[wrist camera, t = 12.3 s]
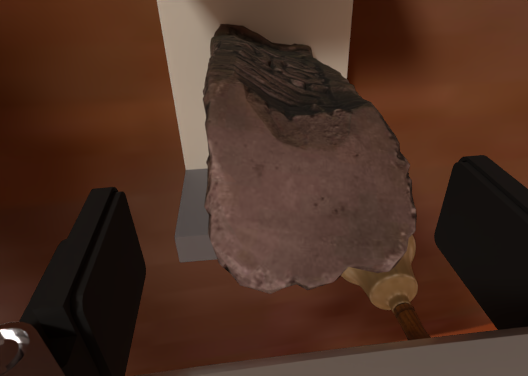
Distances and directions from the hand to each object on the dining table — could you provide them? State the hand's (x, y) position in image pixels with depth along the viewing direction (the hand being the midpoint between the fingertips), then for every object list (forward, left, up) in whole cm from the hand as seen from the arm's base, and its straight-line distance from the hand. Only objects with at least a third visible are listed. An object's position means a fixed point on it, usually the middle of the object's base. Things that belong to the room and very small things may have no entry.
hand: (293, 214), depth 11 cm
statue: (0, 0, -17) cm, 17 cm away
